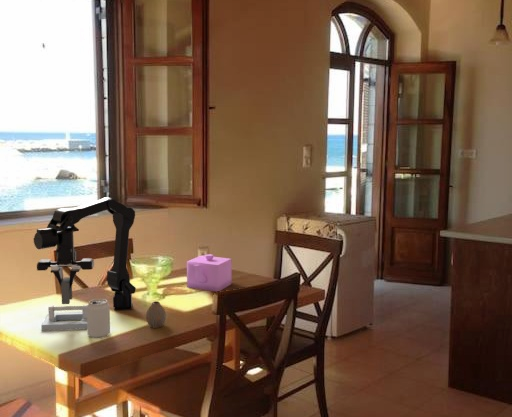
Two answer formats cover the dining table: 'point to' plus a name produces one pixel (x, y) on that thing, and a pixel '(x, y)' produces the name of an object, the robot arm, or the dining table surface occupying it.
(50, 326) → the square frame
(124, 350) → the dining table surface
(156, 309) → the vase
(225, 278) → the pink knobbed box
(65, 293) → the tall grey upright block
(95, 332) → the can
